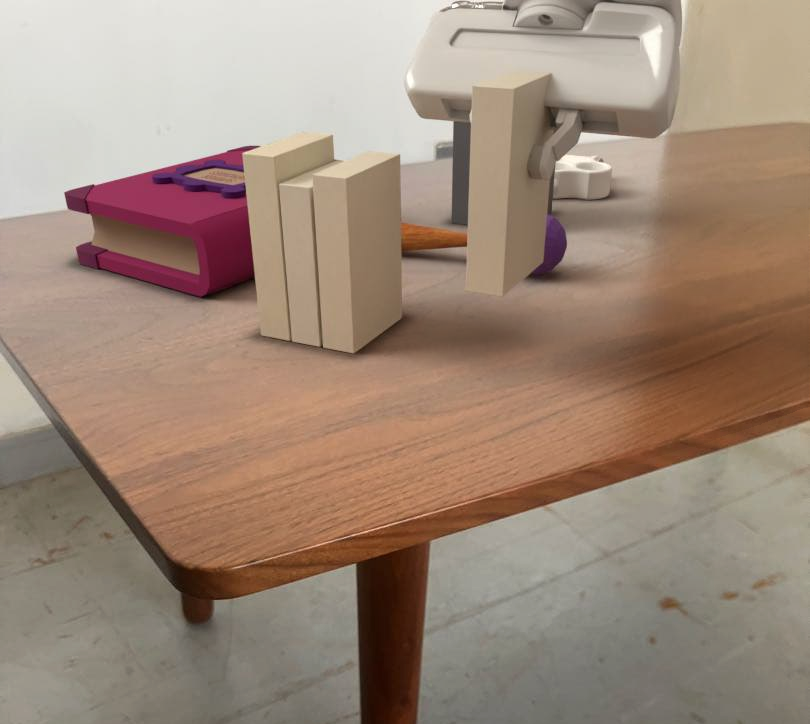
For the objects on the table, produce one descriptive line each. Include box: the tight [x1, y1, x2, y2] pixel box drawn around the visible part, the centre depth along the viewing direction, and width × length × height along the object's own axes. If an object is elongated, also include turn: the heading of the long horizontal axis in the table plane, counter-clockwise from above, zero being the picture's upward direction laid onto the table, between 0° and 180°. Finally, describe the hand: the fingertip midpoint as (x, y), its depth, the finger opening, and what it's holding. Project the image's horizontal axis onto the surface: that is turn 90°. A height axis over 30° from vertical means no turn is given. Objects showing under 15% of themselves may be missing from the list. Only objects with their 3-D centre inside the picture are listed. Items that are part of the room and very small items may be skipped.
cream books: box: [242, 131, 403, 354], centre depth 77 cm, size 9×9×15 cm
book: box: [63, 145, 342, 298], centre depth 99 cm, size 21×28×8 cm
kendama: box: [401, 214, 568, 276], centre depth 94 cm, size 6×6×20 cm
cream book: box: [465, 70, 554, 298], centre depth 68 cm, size 3×9×14 cm, turn 154°
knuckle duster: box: [553, 153, 613, 201], centre depth 121 cm, size 3×18×15 cm
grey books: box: [451, 121, 557, 226], centre depth 105 cm, size 9×9×15 cm
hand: (509, 172), depth 67 cm, fingers closed on cream book, 3 cm apart
